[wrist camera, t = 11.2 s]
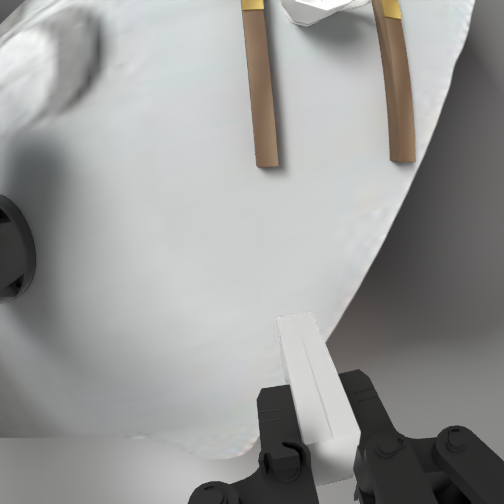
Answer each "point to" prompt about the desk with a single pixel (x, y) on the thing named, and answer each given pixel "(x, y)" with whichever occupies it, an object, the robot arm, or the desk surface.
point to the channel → (392, 68)
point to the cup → (316, 9)
